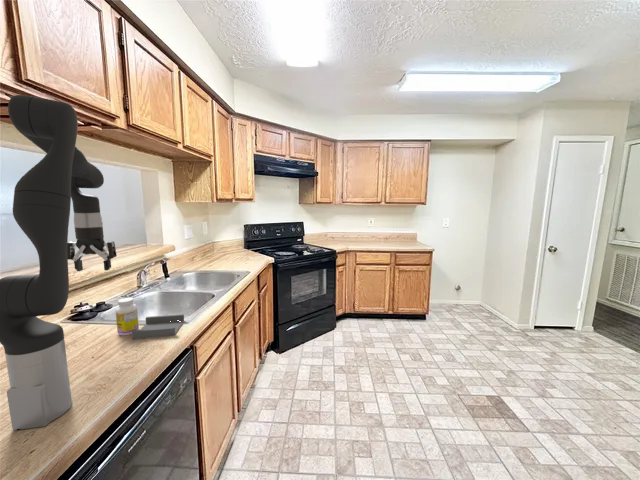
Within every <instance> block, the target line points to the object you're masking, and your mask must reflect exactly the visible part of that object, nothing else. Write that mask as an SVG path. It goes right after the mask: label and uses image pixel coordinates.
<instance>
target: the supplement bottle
mask: <svg viewBox="0 0 640 480" xmlns="http://www.w3.org/2000/svg"><path fill="white" fill-rule="evenodd" d="M117 305H118V306H117V307H116V309H115V319H116V321H115V322H116V329H117V335H120V336H129V335H132V331H133V330H140V329H139V326H140V324H139V316H138V306H137V304H135V303H134V298H133V297H124V298H120V299H118V301H117Z"/></svg>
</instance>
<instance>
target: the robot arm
mask: <svg viewBox="0 0 640 480" xmlns="http://www.w3.org/2000/svg"><path fill="white" fill-rule="evenodd" d="M7 113H8V117H9V119H10V121H11V123H12V125H13V126H14V127H15V129H16V130H17V131H18V132H19V133H20V134H22V136H24V137H25V138H26V139H28V140H29V141H30V142H32V143H33V144H34V145H35V146H37V147H38V148H39V149H41V151H43V152H44V153H45V156H43V158H41V160H40V161H39V162H38V163H36V164H35V165H34V166H32V167H31V168H30V169H29V170H28V171H27V172H25V174H24V175H23V176H21V178H20V179H19V180H18V181H17V182H16V184H15V186H14V190H13V191H14V192H13V199H12V200H13V201H12V216H13V218H14V220H15V223H16V224H17V225H18V226H19V228H20V229H21V231H22V232H23V234H25V236H26V237H27V238H28V239H29V241H30V242H31V243H32V245H33V246H34V248H35V250H36V253H37V255H38V260H39V262H38V263H39V273H35V274H34V273H33V274H31V273H30V274H14V275H8V276H3V277H1V278H0V344H1V346H3V348H4V349H3V350H4V354H5V362H6V369H7V375H8V383H9V387H10V388H8V389H7V391H6V397H7V403H8V410H9V416H10V423H11V429H13V430H14V431H18V430H17V429H21V430H26V429H35V428H42V427H46V426H48V424H49V423H51V422H52V421H54V420H56V419H58V418H60V417H61V416H62V415H64V414H65V413H67V411H68V410H70V408H72V405H73V400H72V392H71V384H70V375H69V369H68V368H69V365H68V357H67V350H66V342H65V341H66V340H65V333H64V329H63V326H62V325H60V324H58V323H54V322H50V321H45V320H43V319H41V318H39V317H41V316H42V317H43V316H51V315H57V314H59V313H60V312H62V311H63V310H64V308H65V307H66V305H67V302H68V299H69V292H70V285H69V284H70V279H69V277H70V276H69V261H68V260H71V261H73V265H74V269H75V270H76V272H81V271H83V270H84V266H83V260H82V258H83V257H84V256H85V255H98V256H99V257H101V258H102V259H103V269H104V271H109V270H110V269H111V268H112V261H111V260H112V259H114V258H116V257H117V251H116V250H117V249H116V244H115V241H114V240H113V241H112V240H111V241H105V240H104V237H105V235H104V227H103V226H104V225H103V224H104V223H103V218H102V215H101V205H100V200H99V197H97V196H96V195H91V194H86V193H83V192H82V191H81V190H80V189H99V188H101V187H103V184H104V183H105V182H104V180H105V179H104V175H103V173H102V171H101V170H100V169H99V168H98V167H97V166H96V165H94V164H92V163H91V162H90V161H88V159H87V158H86V156H85V155H84V153H83V152H82V151H81V150H80V148H79V147H77V145H76V143H77V138H78V131H79V129H78V128H79V127H78V126H79V123H78V122H79V120H78V114H77V112H76V109H75V108H74V107H73V106H72V105H71V104H69V103H67V102H64V101H60V100H55V99H49V98H44V97H38V96H33V95H28V94H27V95H25V94H16V95H12V96H11V97H10V98H9V101H8V104H7ZM71 203H72V204H71ZM71 205H72V209H73V224H74V234H75V240H76V242H74V241H68V239H69V238H68V237H69V225H70V215H71ZM76 248H78V250H77V252H76ZM105 248H107V250H106V249H105ZM13 430H12V431H13Z"/></svg>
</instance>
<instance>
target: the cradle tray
mask: <svg viewBox="0 0 640 480" xmlns="http://www.w3.org/2000/svg"><path fill="white" fill-rule="evenodd" d="M177 320H179V321H181V322H179V321H177ZM170 321H171V322H170ZM183 321H185V314H182V313H181V314H169V315H168V314H166V315H156V316H155V315H154V316H153V315H152V316H146V317H145V324H144V325H143V326H142V327H141V329H138V330H133V331H132V334H131V338H132V340H140V339H150V338H161V337H175V335H176V334H177V333H178V331H179V330H180V328H181V326H182V325H183V323H184V322H183Z"/></svg>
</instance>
